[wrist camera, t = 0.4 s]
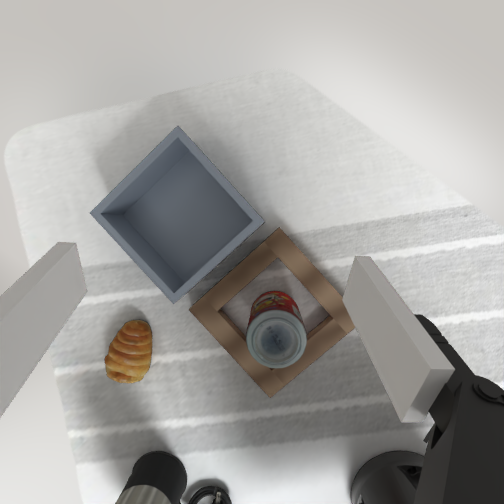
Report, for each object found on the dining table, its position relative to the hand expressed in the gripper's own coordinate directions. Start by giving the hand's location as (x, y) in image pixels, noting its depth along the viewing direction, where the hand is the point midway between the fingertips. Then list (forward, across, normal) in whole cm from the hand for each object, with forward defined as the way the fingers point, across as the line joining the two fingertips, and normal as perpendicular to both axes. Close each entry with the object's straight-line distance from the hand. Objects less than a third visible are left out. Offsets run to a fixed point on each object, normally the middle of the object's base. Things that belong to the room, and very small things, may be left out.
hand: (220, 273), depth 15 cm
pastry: (+23, +14, +31) cm, 40 cm away
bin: (+30, +6, +11) cm, 32 cm away
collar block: (+23, -8, +22) cm, 33 cm away
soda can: (+23, -8, +22) cm, 33 cm away
